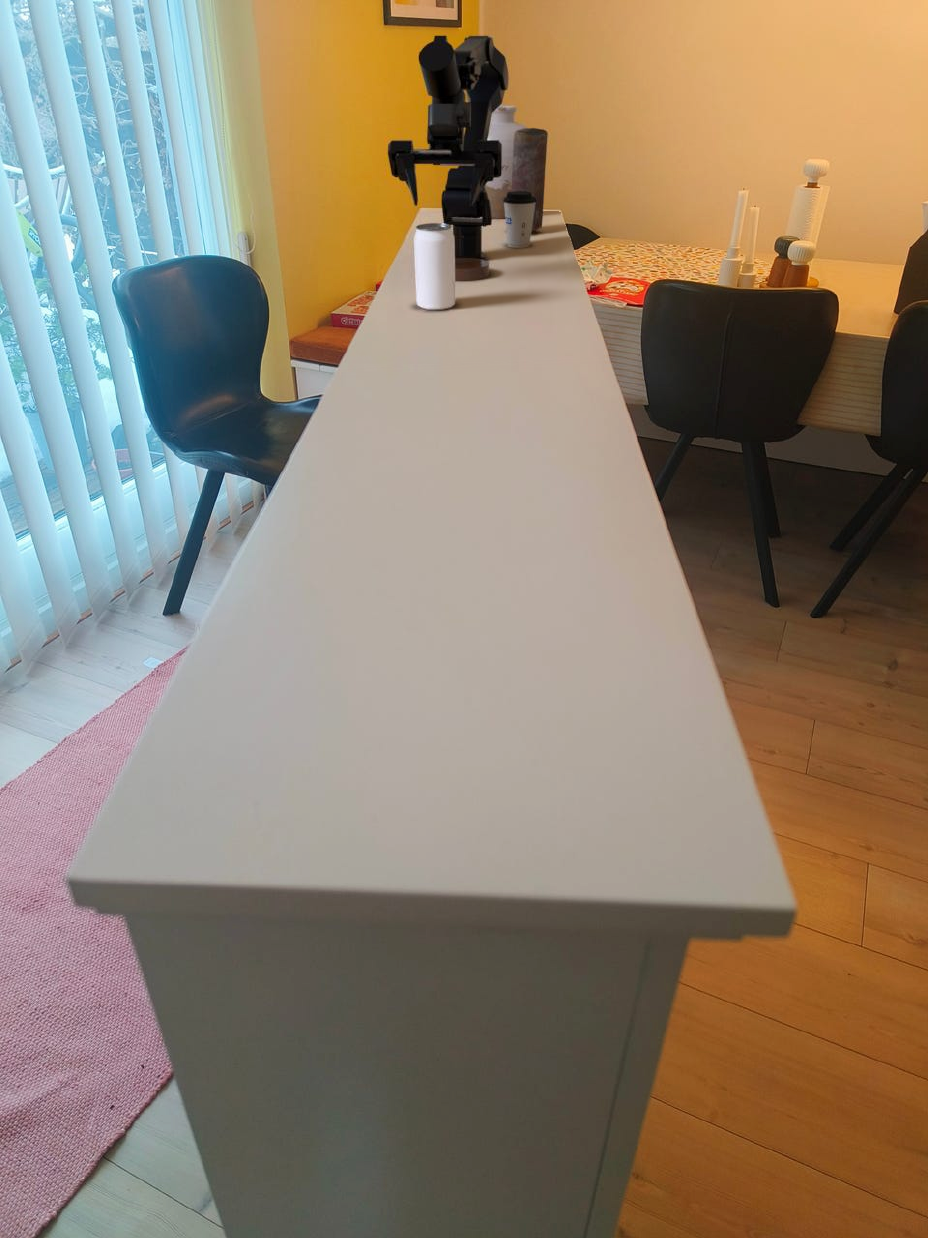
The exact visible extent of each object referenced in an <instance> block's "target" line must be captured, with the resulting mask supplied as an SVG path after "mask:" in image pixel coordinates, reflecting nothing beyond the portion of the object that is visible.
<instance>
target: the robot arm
mask: <svg viewBox="0 0 928 1238" xmlns="http://www.w3.org/2000/svg"><path fill="white" fill-rule="evenodd" d="M418 62H419V66H420V71H421V74H422V77H423V81H424V86H425V89H426V92H427V95H428V96H430V97H431V103H430V104H428V105H427V127H426V128H427V129H426V142H427V145H428V148H414V142H413V140H412V139H392V140H390V141H389V143H388V144H387V158H388V162H389V167H390V173H391V176H393V177H394V178H398V180H399V181H401V182H405V184H406V186H407V188H408V190H409V192H410V195H411V198H412V201H413V204H414V206H415V207H417V206H418V203H419V194H418V182H417V174H416V165H432V166H440V167H450V168H449V170H448V171H447V178H446V182H445V186H444V188H445V189H444V190H442V192H441V199H440V200H441V210H442V211H441V212H442V219H443V224H449V225H451V226H452V233H453V235H454V241H455V259H457V258H475V259H481V260H485V261H486V256H485V254H484V253H483V251H482V250H483V248H482V247H483V244H482V242H483V241H482V240H483V239H482V238H483V236H482V235H483V228H485V227H488V226H492V223H493V218H492V214H491V206H490V200H489V199H488V195H487V192H486V190H485V184H486V183H487V182H488V181H493V179H494V178H498V177H500V176H501V175H502V144H501V143H500V141H499V140H488V134H489V128H490V122H491V117H492V113H493V112H494V111H495V110H496V109H497V108H498V107H499V106H502V104H503V100H504V97H505V92H506V91H508V88H509V79H510V77H509V69H508V64H507V59H506V56H505V55H504V54H503V53H502V52H501V51H500V50H499V49H498V48H497V47H496V46H495V44H494V39H493V37H492V36H489V35H469V36H467V37H465V38H464V39H463V42H461V44H460V45H458V46H457V47H456V48H455V49H454V47H453V45H452V44H451V43H450V42H449V41H448V37H447V35H434V36H433V40H432V41H431V42H428V43H426V45H424V46H423V47H422V49H421V50H420V51H419V52H418ZM466 98H467V100H466Z"/></svg>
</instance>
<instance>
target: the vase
mask: <svg viewBox="0 0 928 1238" xmlns="http://www.w3.org/2000/svg"><path fill="white" fill-rule="evenodd" d="M517 109H518V107H517V106H515V105H500V106H499V107H498V108H497V109H496V110H495V111H494V112H493V113H492V117H491V122H490V128H489V134H488V140H499V141H500V143H501V144H502V175H501V176H500V177H498V178H494V179H493V181H488V182H487V183H486V184H485V190H486V192H487V195H488V199H489V200H490V206H491V214H492V219H506V218H505V207H504V202H503V200H504V197H507V193H508V192H511V190H512V167H513V147H514V133H515V132H516V131H517V130H520V129H523V128H528V127H527V126H526V125H524V124H521V123H518V122H516V121H515V115H516V111H517Z"/></svg>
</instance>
